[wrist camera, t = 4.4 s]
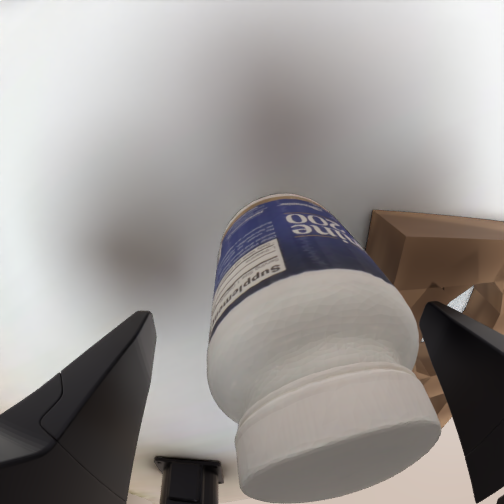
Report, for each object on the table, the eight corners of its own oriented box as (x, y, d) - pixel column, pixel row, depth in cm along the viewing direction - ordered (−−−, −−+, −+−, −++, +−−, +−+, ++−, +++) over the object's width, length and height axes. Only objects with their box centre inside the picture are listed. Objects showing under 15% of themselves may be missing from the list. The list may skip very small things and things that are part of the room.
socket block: (422, 415, 21) (433, 438, 19) (308, 440, 21) (314, 469, 18) (516, 223, 13) (546, 242, 10) (372, 209, 12) (406, 236, 9)
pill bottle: (362, 241, 13) (493, 416, 4) (284, 318, 14) (324, 511, 6) (275, 162, 11) (408, 338, 2) (194, 259, 13) (148, 487, 4)
